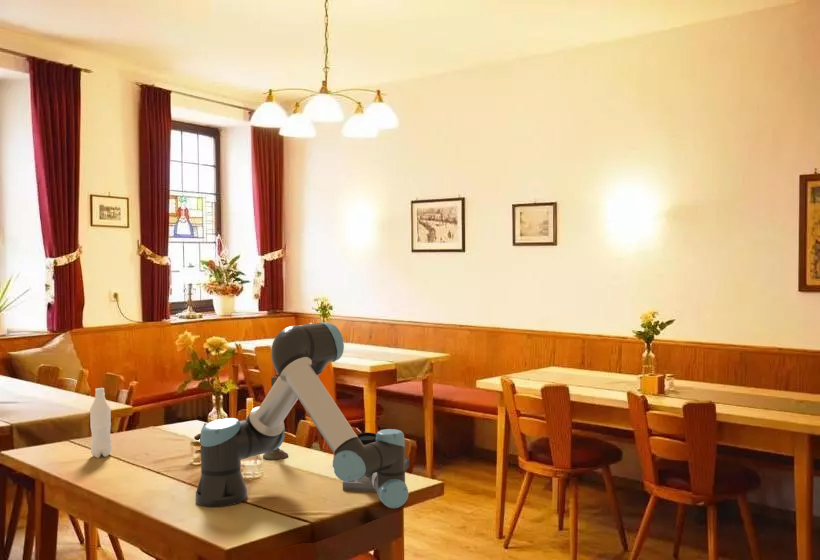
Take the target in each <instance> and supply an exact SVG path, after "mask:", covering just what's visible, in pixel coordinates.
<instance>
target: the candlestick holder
mask: <svg viewBox="0 0 820 560" xmlns="http://www.w3.org/2000/svg"><path fill="white" fill-rule="evenodd" d="M270 378H271V379H270V384H271V388H272V386H273V385H274V383H275V382H276V380H277V379H278V376H276V375H273V376H271V377H270ZM271 388H270V389H271ZM288 457H289V453H287V452H285V450H283V449H281V448H280V447H279V448H277V449H276V450H273V451H271V452H269V453H266V454H263V455H262V458H263V459H264V460H267V461H278V460H279V461H280V460H284V459H287V458H288Z"/></svg>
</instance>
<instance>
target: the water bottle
mask: <svg viewBox="0 0 820 560" xmlns="http://www.w3.org/2000/svg"><path fill="white" fill-rule="evenodd" d="M105 395H106V393H105V388H104V387H97V388H95V393H94V396H95V398H94V400H93V402H92V404H91V407H90V409H89V417H90V418H89V419H90V421H89V422H90V432H91V442H90V453H91V454H92V456H93V457H95V458H99V459H100V457H101V455H102V456H103V458H106V457H108V456H109V455H110V454H111V452H112V449H113V446H112V445H113V444H112V440H111V427H112V420H111V419H112V418H111V417H112V415H111V413H112V412H111V411H112V410H111V409H112V408H111V406H110V404H109V403H108V400H107V399H106V396H105Z"/></svg>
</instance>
